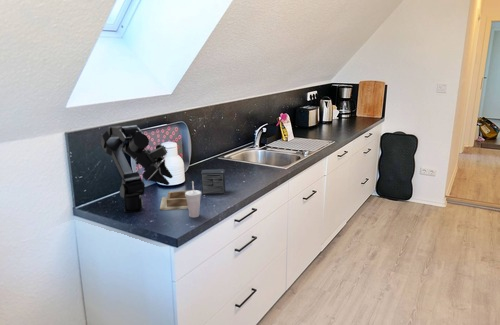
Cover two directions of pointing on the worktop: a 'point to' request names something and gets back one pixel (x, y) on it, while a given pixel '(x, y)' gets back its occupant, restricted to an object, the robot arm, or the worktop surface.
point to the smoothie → (193, 201)
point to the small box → (213, 182)
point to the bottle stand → (174, 201)
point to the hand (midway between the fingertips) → (170, 180)
